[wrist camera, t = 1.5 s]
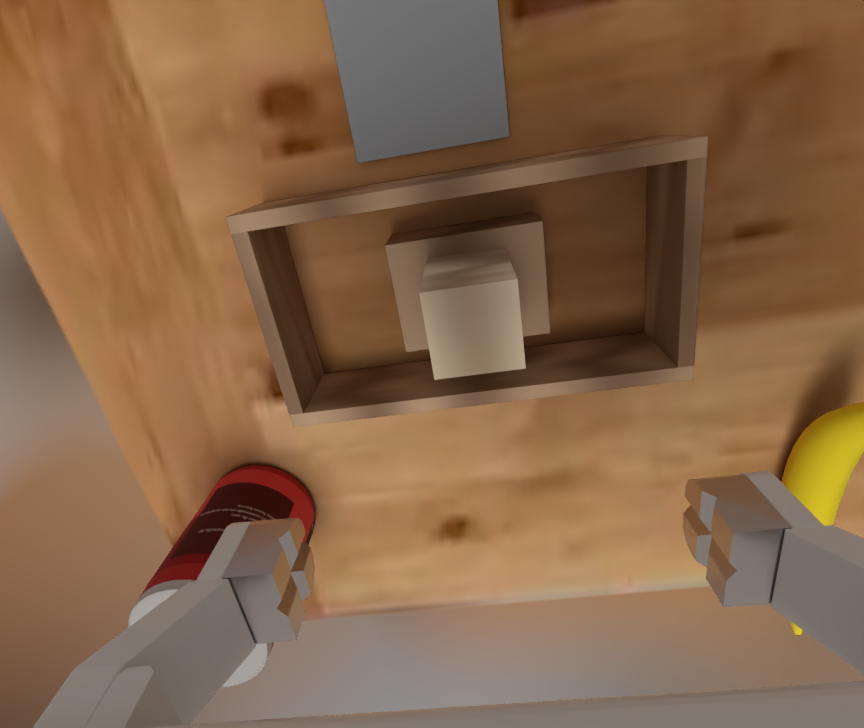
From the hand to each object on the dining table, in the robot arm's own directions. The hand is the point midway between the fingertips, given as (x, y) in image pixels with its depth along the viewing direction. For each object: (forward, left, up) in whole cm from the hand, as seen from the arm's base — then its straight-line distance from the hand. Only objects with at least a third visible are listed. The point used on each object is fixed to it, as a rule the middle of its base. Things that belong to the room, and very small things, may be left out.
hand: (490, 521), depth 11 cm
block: (0, 0, -17) cm, 17 cm away
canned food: (+17, +15, -21) cm, 31 cm away
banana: (-20, +17, -21) cm, 33 cm away
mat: (+1, -11, -20) cm, 23 cm away
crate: (0, 0, -20) cm, 20 cm away
